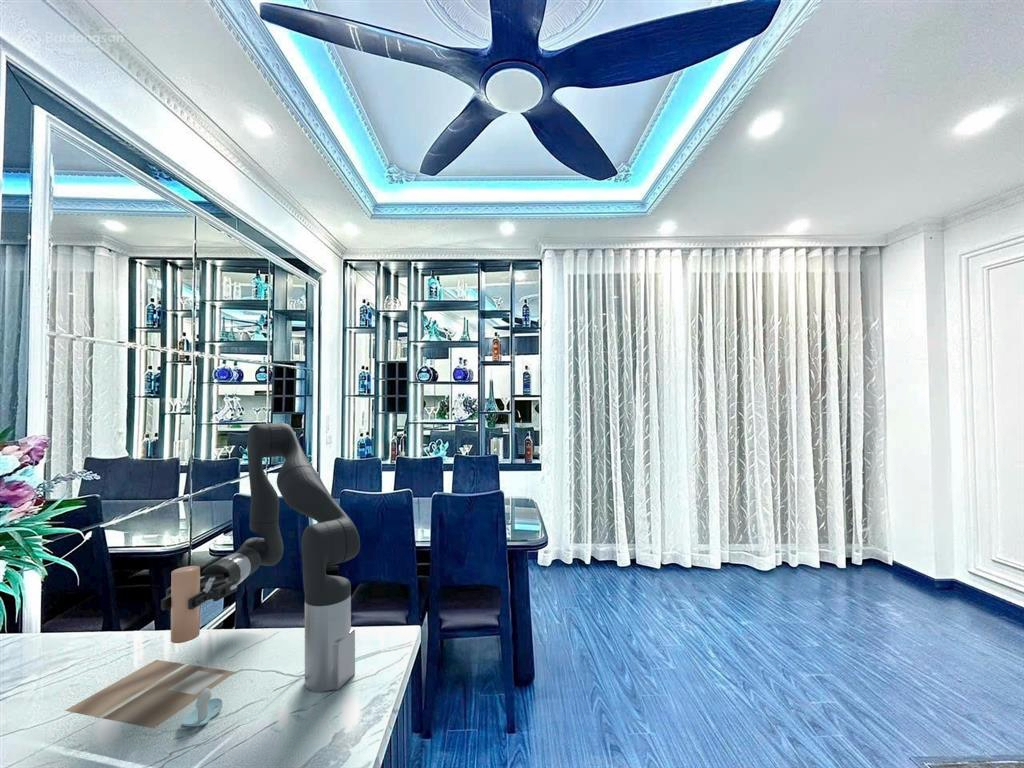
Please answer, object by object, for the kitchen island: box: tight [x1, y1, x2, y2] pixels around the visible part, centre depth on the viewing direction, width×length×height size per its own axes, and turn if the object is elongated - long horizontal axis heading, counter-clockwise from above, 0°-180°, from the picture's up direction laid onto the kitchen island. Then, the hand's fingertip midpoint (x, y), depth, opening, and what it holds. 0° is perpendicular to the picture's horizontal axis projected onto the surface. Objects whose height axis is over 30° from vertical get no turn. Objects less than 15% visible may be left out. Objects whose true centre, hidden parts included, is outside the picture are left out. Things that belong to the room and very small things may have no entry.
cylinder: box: [170, 565, 201, 644], centre depth 99 cm, size 5×5×14 cm
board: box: [64, 659, 236, 729], centre depth 95 cm, size 22×18×1 cm
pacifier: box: [177, 688, 223, 731], centre depth 87 cm, size 7×6×6 cm
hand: (176, 605), depth 96 cm, fingers closed on cylinder, 5 cm apart
